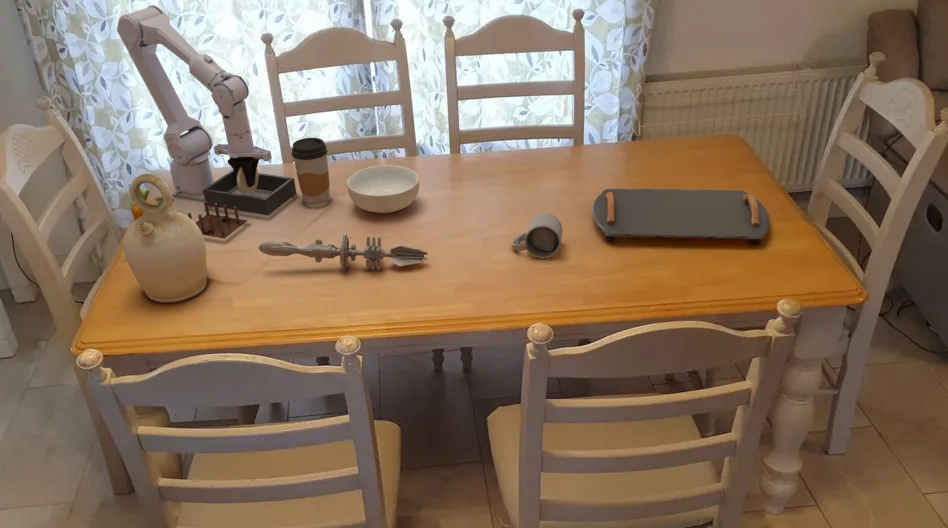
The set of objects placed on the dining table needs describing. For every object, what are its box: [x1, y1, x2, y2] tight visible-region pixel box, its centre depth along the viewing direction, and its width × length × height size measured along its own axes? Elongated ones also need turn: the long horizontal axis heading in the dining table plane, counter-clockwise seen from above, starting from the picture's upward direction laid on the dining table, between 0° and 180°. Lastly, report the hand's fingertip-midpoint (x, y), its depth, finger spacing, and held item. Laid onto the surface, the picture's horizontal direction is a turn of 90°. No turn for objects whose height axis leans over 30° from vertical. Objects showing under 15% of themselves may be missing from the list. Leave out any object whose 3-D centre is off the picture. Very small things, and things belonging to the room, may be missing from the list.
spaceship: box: [258, 232, 428, 272], centre depth 176 cm, size 8×35×8 cm
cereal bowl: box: [346, 164, 420, 215], centre depth 200 cm, size 17×17×7 cm
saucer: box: [236, 167, 259, 196], centre depth 202 cm, size 1×8×8 cm, turn 159°
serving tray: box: [591, 188, 771, 246], centre depth 189 cm, size 39×23×6 cm, turn 84°
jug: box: [123, 173, 208, 304], centre depth 168 cm, size 15×16×25 cm
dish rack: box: [187, 200, 248, 240], centre depth 194 cm, size 11×9×5 cm
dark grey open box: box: [203, 168, 298, 216], centre depth 205 cm, size 18×13×5 cm
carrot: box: [128, 188, 155, 221], centre depth 184 cm, size 5×5×15 cm
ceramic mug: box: [511, 212, 563, 259], centre depth 181 cm, size 11×8×8 cm
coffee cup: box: [291, 137, 331, 205], centre depth 201 cm, size 8×8×15 cm
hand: (249, 185), depth 203 cm, fingers closed on saucer, 1 cm apart
